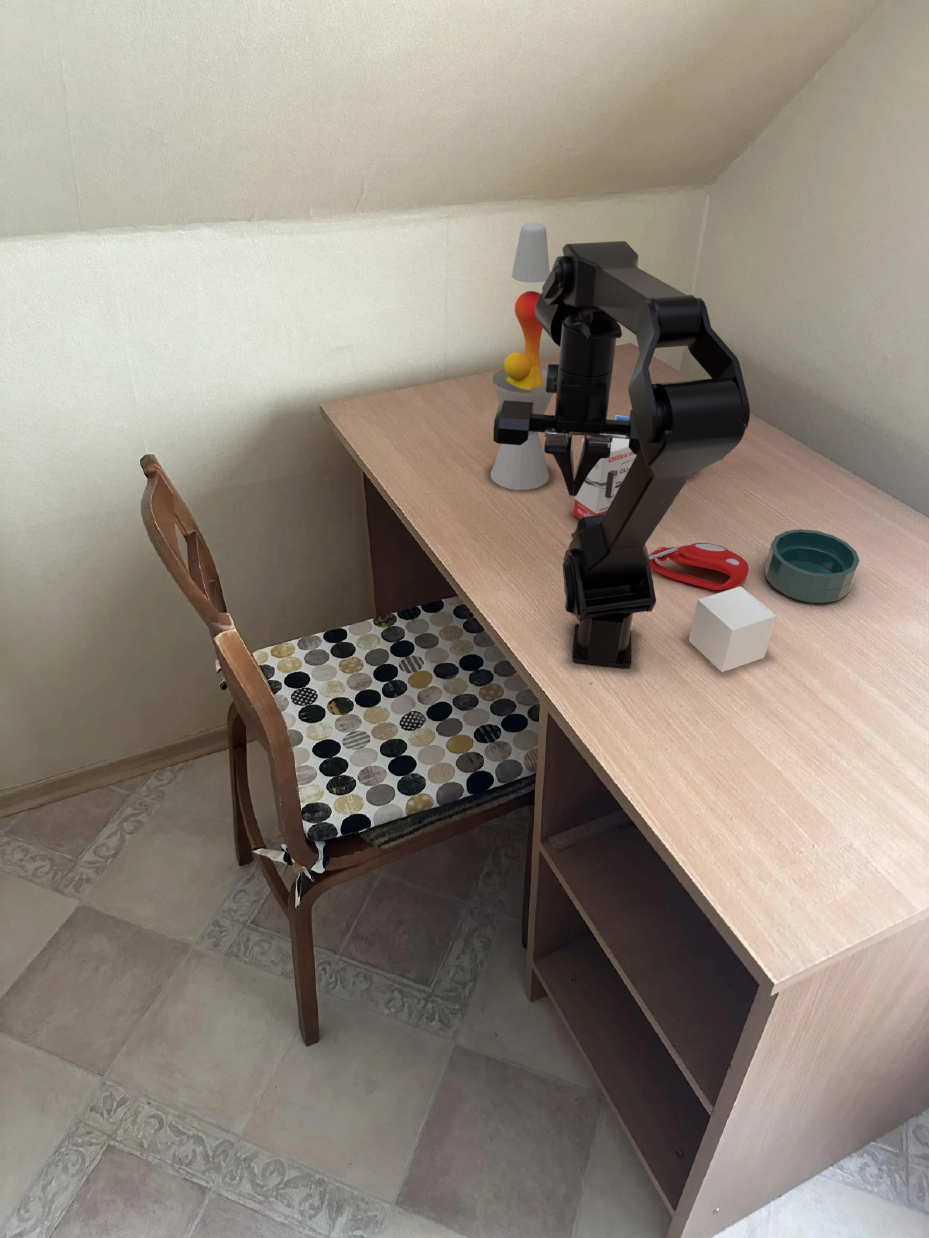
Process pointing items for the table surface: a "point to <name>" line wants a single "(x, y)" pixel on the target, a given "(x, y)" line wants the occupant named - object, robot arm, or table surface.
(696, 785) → the table surface
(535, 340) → the lava lamp
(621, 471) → the ink box
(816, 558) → the bowl
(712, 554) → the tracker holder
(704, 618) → the white cube
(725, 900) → the table surface
